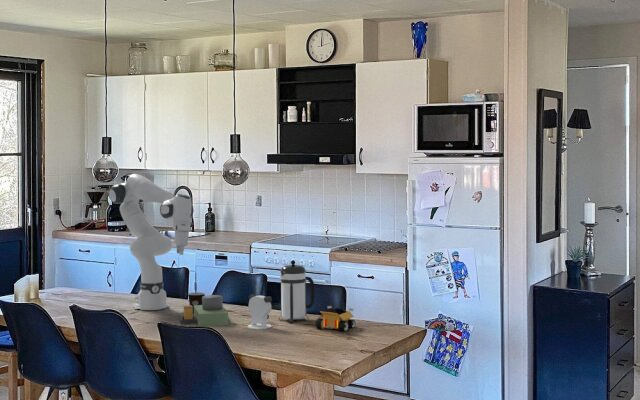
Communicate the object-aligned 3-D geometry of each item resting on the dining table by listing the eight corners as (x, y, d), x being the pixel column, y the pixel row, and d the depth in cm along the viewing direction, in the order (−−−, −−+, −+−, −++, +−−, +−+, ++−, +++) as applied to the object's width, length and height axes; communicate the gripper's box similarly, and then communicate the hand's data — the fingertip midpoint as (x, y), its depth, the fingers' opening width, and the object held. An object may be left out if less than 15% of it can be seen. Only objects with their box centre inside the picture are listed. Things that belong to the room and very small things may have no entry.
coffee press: (307, 323, 407) (306, 262, 405) (275, 322, 410) (274, 261, 408) (314, 316, 424) (314, 258, 422) (283, 316, 427) (283, 257, 425)
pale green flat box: (178, 318, 424) (177, 294, 423) (221, 315, 430) (221, 292, 429) (182, 327, 401) (182, 302, 400) (228, 324, 406) (227, 300, 406)
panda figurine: (277, 326, 403) (276, 295, 402) (262, 330, 393) (262, 298, 392) (257, 323, 409) (257, 292, 408) (242, 327, 400) (242, 296, 399)
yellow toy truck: (357, 327, 399) (357, 305, 398) (342, 333, 386) (341, 310, 385) (330, 324, 406) (329, 302, 406) (314, 330, 393) (314, 307, 393)
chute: (183, 321, 415) (183, 305, 414) (192, 321, 416) (191, 305, 415) (184, 323, 411) (184, 307, 410) (193, 322, 412) (192, 306, 411)
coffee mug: (185, 313, 436) (184, 294, 436) (195, 310, 444) (194, 291, 443) (203, 315, 431) (203, 296, 430) (213, 312, 438) (212, 293, 438)
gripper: (172, 225, 433) (170, 252, 433) (178, 227, 413) (176, 255, 413) (184, 225, 435) (183, 252, 435) (190, 227, 415) (189, 255, 415)
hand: (179, 253), depth 424 cm, fingers open, 8 cm apart
